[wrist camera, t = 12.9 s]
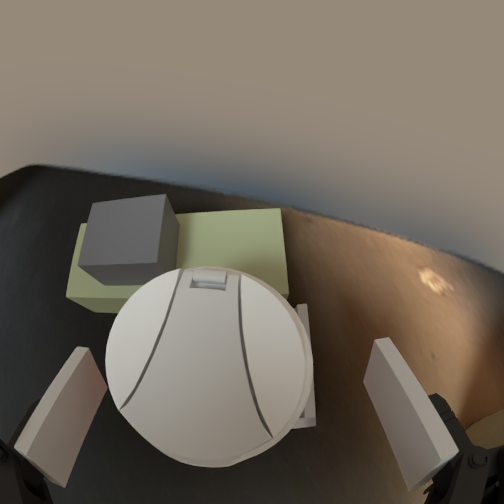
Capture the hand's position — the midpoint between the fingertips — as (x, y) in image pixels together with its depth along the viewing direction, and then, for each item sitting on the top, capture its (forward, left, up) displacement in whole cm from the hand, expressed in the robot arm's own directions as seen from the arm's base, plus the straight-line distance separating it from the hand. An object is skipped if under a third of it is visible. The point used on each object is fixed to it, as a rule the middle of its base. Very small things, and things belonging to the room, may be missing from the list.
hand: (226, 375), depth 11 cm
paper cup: (-1, 0, -10) cm, 10 cm away
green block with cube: (-4, +4, -11) cm, 12 cm away
